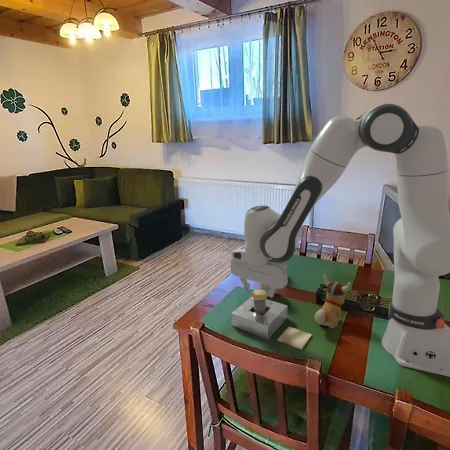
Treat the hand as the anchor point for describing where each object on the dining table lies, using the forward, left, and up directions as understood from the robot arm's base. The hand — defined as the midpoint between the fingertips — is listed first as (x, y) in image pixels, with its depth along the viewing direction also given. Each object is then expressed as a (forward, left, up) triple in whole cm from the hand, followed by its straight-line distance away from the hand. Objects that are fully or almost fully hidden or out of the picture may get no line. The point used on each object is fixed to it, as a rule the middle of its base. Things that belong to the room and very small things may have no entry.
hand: (258, 292), depth 111 cm
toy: (-20, -12, -12) cm, 27 cm away
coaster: (-14, +2, -12) cm, 19 cm away
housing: (0, 0, -12) cm, 12 cm away
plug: (0, 0, -12) cm, 12 cm away
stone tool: (+6, -17, -12) cm, 22 cm away
